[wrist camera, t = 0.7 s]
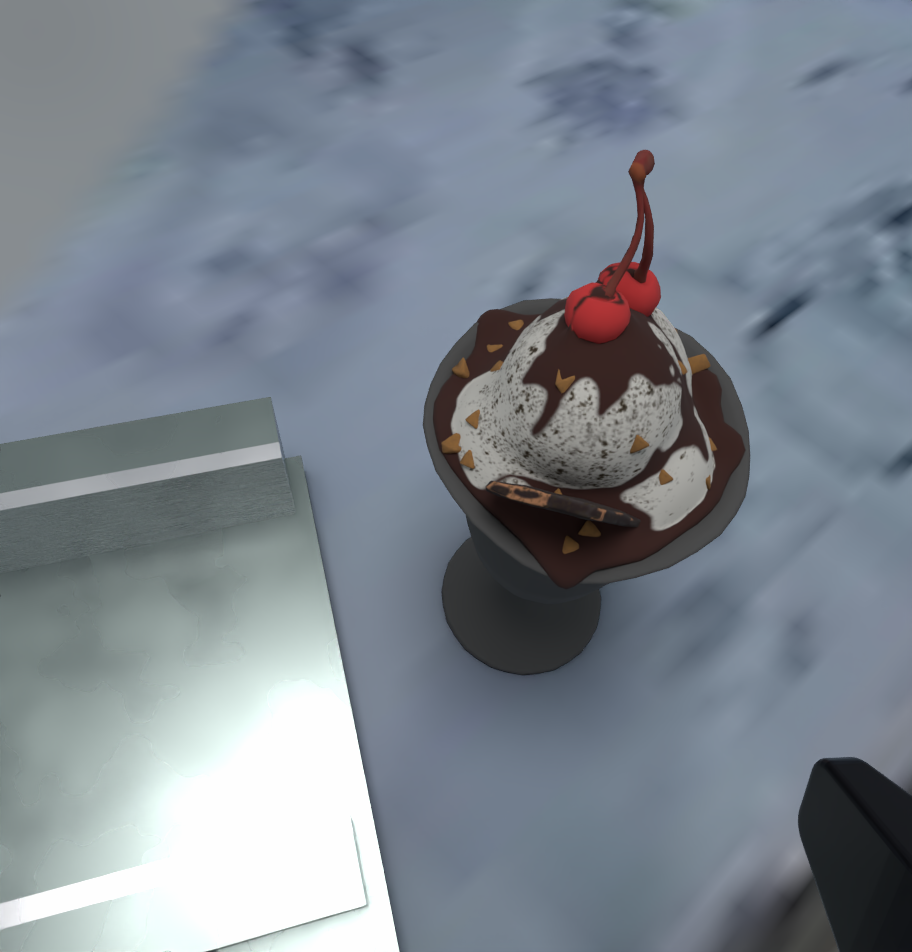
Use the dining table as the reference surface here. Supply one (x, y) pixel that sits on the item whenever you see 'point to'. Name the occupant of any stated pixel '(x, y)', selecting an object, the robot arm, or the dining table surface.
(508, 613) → the sundae
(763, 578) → the dining table surface
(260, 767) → the vise
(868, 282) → the dining table surface
